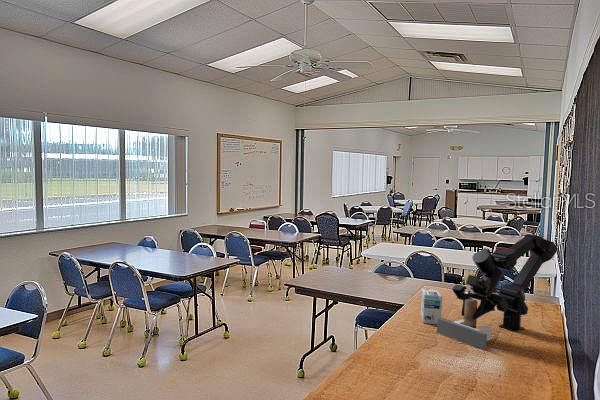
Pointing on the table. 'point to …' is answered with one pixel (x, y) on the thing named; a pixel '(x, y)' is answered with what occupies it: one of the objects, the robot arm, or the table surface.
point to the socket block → (478, 328)
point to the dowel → (470, 312)
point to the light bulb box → (431, 306)
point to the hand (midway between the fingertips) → (467, 317)
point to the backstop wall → (462, 333)
